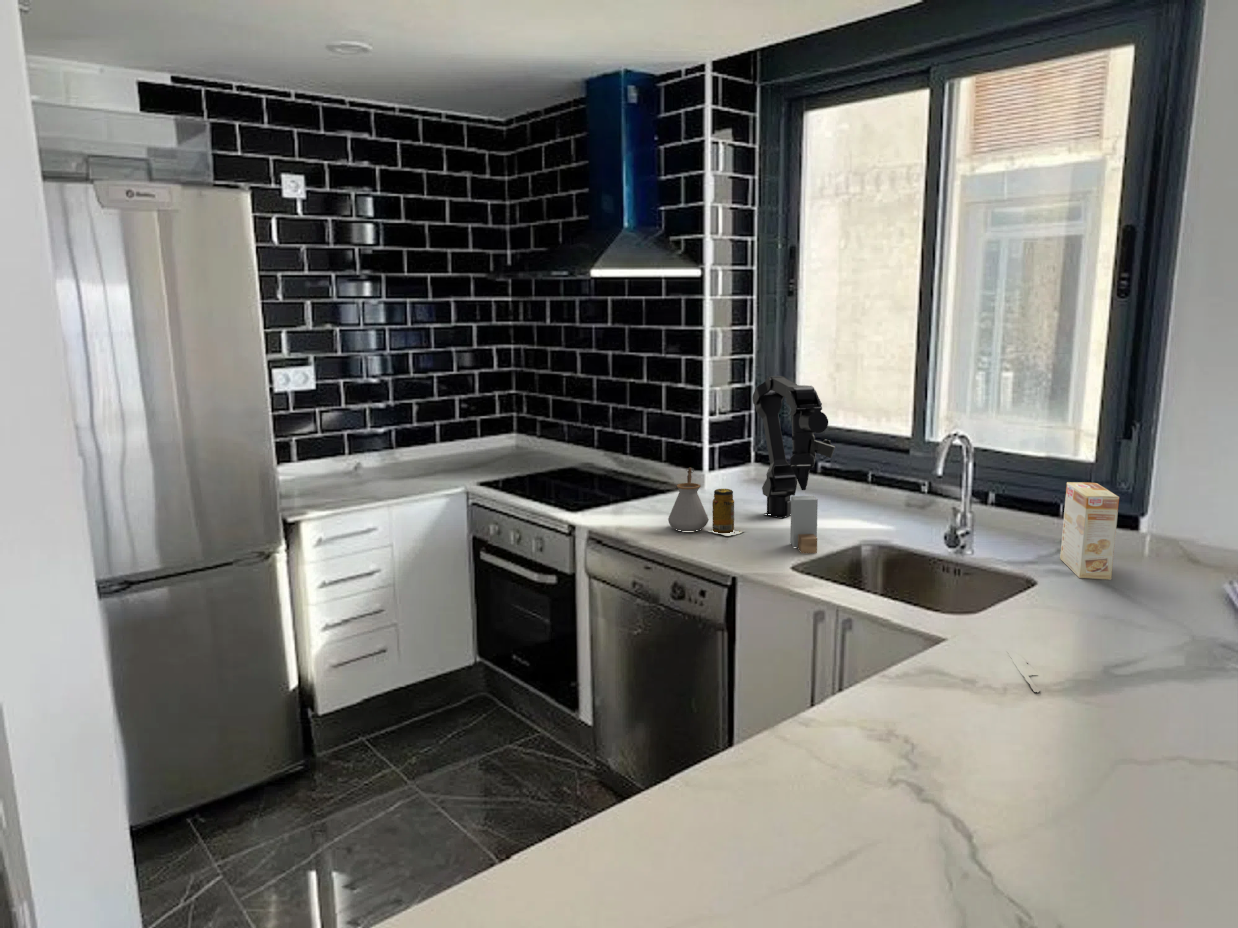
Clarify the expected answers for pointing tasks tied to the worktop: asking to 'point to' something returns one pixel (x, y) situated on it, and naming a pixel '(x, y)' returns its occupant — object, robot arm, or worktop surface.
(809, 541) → the walnut cube
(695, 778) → the worktop surface
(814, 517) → the block
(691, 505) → the coffee pot
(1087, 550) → the coffeecake box
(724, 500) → the condiment
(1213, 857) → the worktop surface
